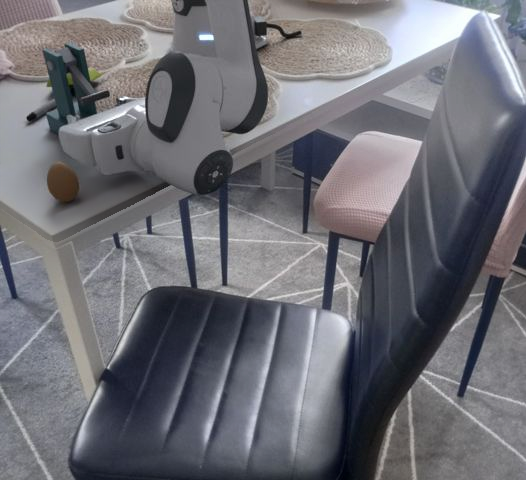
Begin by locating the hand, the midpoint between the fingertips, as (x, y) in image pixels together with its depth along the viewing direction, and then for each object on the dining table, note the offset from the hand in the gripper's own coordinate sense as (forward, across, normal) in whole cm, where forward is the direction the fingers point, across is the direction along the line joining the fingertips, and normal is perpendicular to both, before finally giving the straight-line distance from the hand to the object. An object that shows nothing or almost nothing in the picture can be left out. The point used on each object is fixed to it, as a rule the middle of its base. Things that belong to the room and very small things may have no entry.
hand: (96, 109), depth 98 cm
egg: (-12, +14, +6) cm, 19 cm away
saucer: (+25, -10, +2) cm, 27 cm away
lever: (+4, 0, -3) cm, 5 cm away
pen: (+19, +5, +7) cm, 21 cm away
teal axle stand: (+6, 0, +6) cm, 9 cm away
